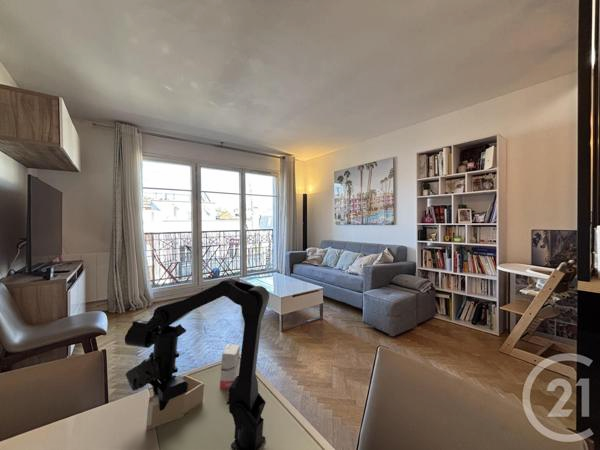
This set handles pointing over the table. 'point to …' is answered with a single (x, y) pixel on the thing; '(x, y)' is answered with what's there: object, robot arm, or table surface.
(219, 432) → the table surface
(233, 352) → the ink box
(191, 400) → the carton
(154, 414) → the end flap
